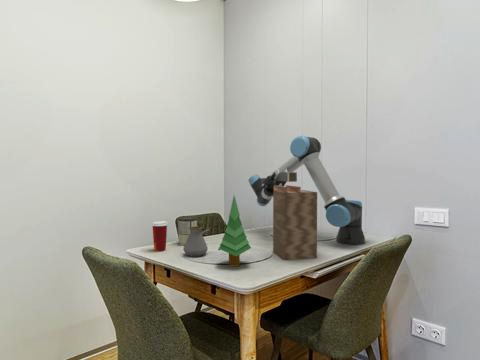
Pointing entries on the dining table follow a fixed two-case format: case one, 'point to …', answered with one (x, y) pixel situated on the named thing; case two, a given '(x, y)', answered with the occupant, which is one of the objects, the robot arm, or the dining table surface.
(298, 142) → the robot arm
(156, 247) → the paper cup
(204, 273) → the dining table surface
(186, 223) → the coffee can
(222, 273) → the dining table surface
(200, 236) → the coffee pot
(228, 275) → the dining table surface
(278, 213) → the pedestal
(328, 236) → the dining table surface
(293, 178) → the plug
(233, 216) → the decorative tree
